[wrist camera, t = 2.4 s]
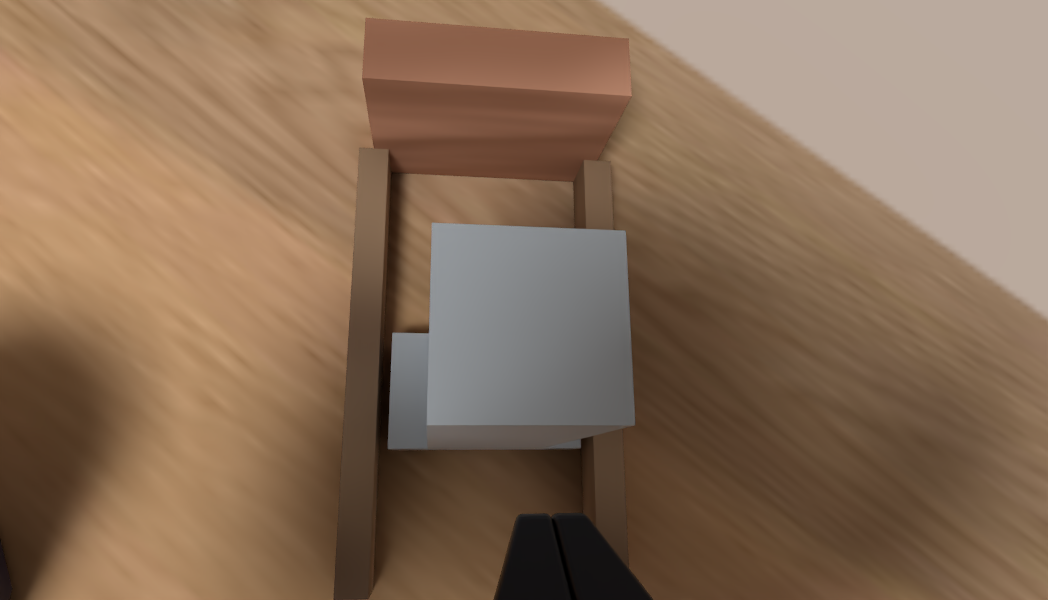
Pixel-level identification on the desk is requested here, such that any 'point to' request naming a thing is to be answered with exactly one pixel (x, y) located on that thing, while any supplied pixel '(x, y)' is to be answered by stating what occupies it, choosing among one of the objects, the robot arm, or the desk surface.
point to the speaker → (4, 578)
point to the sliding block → (516, 342)
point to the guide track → (480, 151)
